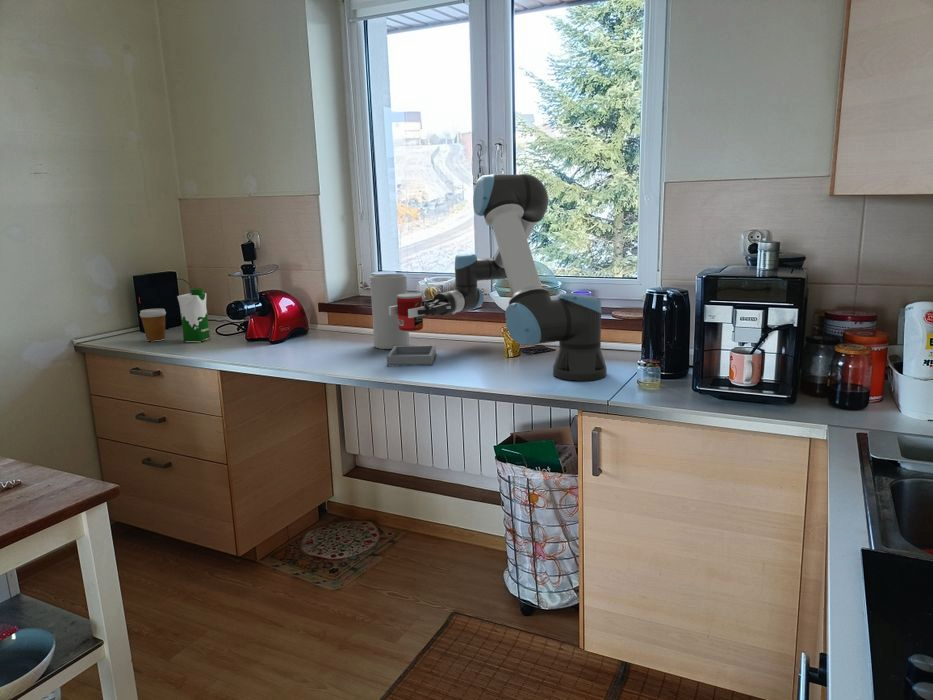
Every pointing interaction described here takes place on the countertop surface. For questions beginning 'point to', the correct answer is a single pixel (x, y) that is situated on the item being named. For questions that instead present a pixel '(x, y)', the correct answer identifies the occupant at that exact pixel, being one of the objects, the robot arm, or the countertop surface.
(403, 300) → the canned food
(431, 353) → the box
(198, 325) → the milk carton
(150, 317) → the disposable coffee cup
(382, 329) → the cylinder vase
